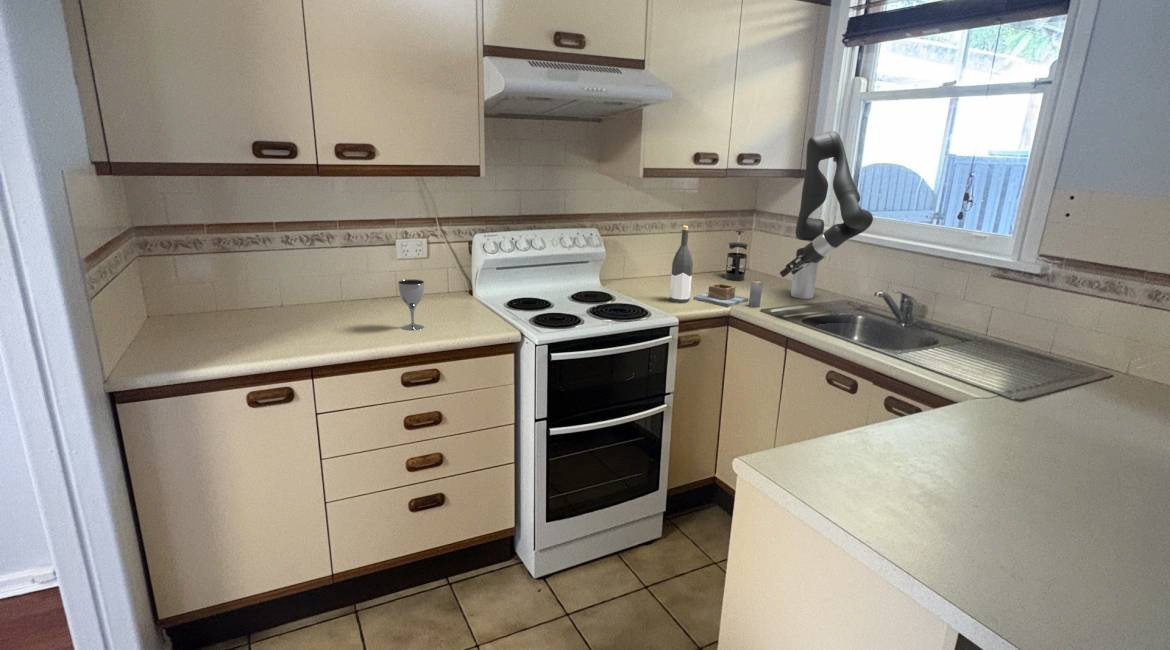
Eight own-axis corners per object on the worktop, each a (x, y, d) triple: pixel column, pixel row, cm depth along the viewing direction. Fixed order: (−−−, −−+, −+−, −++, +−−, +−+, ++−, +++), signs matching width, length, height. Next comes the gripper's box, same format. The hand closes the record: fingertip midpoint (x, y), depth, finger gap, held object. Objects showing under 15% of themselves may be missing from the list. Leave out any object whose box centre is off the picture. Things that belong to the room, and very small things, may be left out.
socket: (714, 293, 268) (715, 280, 267) (748, 300, 258) (749, 287, 256) (693, 299, 257) (694, 285, 256) (727, 307, 247) (729, 292, 245)
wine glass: (395, 326, 204) (393, 281, 200) (416, 322, 210) (415, 278, 206) (408, 332, 199) (407, 285, 195) (430, 327, 205) (429, 282, 200)
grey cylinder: (751, 304, 253) (754, 279, 250) (761, 306, 250) (764, 281, 247) (746, 305, 250) (749, 281, 247) (756, 308, 247) (759, 283, 244)
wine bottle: (688, 298, 257) (694, 225, 249) (690, 303, 250) (697, 227, 241) (668, 298, 258) (674, 224, 249) (670, 302, 250) (676, 226, 241)
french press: (746, 282, 294) (752, 232, 288) (726, 280, 295) (731, 231, 289) (742, 276, 306) (747, 229, 299) (722, 275, 306) (727, 228, 300)
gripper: (822, 238, 233) (789, 263, 244) (805, 241, 223) (772, 267, 234) (834, 254, 231) (800, 279, 242) (818, 258, 221) (783, 284, 232)
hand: (786, 273), depth 238 cm, fingers open, 8 cm apart
